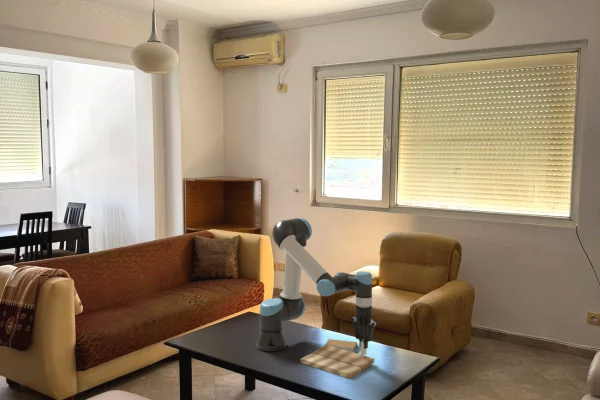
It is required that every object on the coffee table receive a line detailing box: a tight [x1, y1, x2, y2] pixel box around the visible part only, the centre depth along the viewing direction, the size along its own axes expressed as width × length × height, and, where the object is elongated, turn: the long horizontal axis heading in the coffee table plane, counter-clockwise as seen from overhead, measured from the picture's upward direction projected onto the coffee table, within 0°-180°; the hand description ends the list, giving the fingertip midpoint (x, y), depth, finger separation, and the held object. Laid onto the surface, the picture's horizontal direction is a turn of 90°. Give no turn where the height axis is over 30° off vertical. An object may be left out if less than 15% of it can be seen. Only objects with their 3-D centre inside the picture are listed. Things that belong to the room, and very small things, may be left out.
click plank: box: [312, 343, 375, 372], centre depth 249 cm, size 28×10×2 cm, turn 51°
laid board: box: [300, 352, 363, 380], centre depth 241 cm, size 28×9×2 cm, turn 51°
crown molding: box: [325, 338, 359, 353], centre depth 264 cm, size 14×15×4 cm
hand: (363, 354), depth 246 cm, fingers closed
